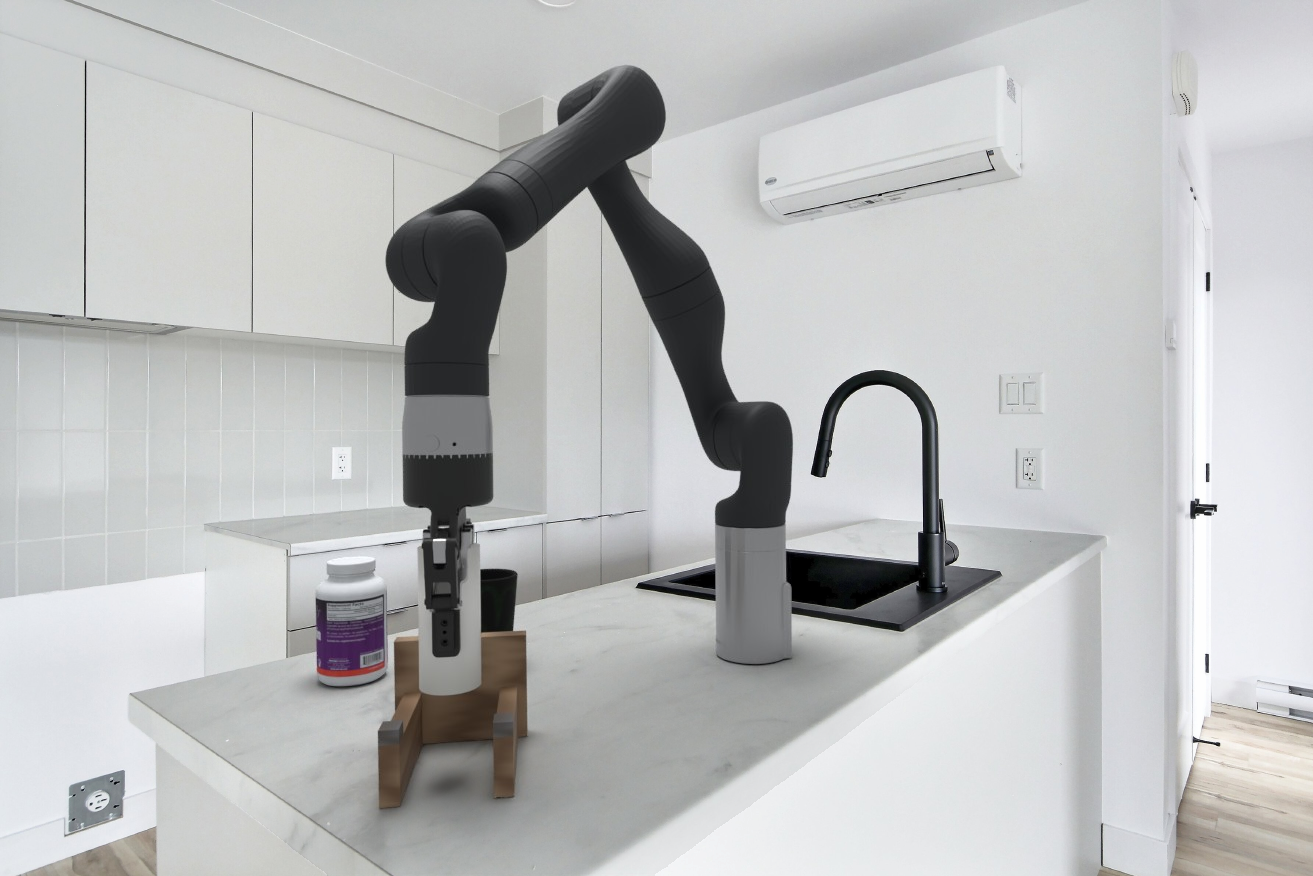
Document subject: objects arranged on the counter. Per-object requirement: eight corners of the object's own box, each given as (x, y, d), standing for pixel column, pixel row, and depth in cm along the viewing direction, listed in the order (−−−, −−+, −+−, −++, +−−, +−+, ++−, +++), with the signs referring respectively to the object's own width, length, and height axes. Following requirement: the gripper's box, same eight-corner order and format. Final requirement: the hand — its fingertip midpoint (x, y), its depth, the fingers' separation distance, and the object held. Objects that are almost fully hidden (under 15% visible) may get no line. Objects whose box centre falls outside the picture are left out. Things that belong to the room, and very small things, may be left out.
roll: (483, 673, 68) (482, 539, 68) (479, 693, 63) (477, 548, 63) (424, 676, 67) (422, 541, 67) (414, 697, 62) (412, 550, 62)
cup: (504, 682, 90) (502, 581, 89) (444, 678, 91) (443, 579, 91) (527, 662, 97) (526, 569, 97) (472, 659, 99) (471, 567, 98)
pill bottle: (330, 668, 95) (328, 555, 95) (395, 666, 96) (393, 553, 96) (306, 691, 87) (303, 567, 87) (377, 688, 88) (375, 565, 88)
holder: (527, 729, 75) (526, 630, 75) (525, 795, 62) (523, 675, 62) (398, 739, 73) (396, 637, 73) (367, 809, 60) (365, 684, 60)
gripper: (487, 452, 58) (489, 670, 59) (497, 447, 72) (499, 622, 73) (386, 453, 57) (388, 675, 57) (416, 447, 71) (418, 626, 72)
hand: (450, 645), depth 65 cm, fingers closed on roll, 5 cm apart
